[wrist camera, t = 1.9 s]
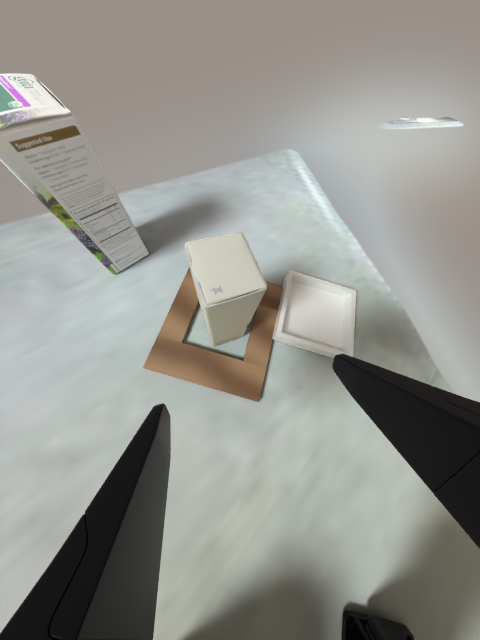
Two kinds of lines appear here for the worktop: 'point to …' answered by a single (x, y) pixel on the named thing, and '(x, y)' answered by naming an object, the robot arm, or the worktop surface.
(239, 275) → the box
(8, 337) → the worktop surface
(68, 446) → the worktop surface
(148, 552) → the robot arm
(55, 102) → the syrup box
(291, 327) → the white tray
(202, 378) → the walnut frame
